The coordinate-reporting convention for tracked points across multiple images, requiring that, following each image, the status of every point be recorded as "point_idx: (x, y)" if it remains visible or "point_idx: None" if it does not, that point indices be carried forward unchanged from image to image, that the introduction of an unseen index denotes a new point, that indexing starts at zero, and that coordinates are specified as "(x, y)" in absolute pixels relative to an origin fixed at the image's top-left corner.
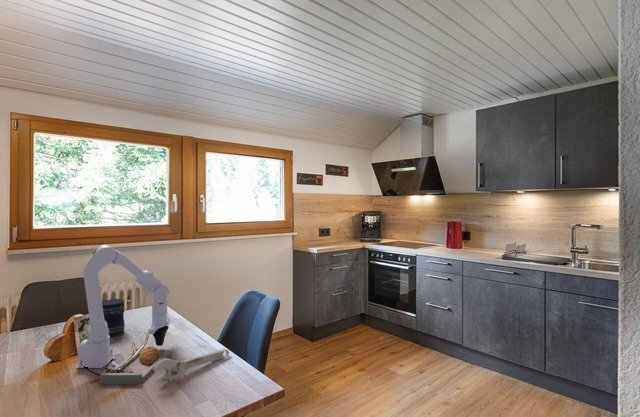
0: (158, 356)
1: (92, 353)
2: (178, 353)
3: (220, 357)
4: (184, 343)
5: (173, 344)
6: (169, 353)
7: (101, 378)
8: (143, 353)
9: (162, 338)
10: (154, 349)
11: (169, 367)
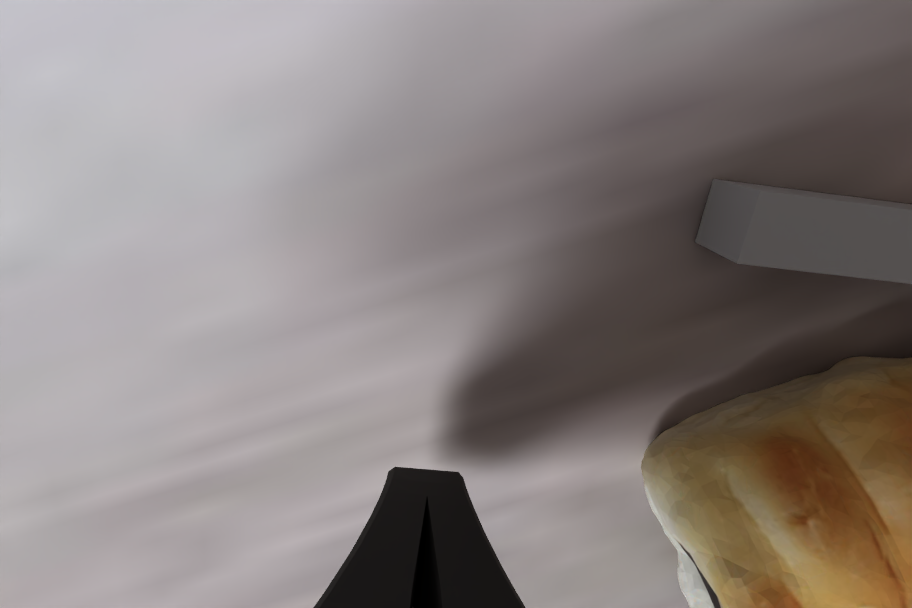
0: (859, 367)
1: None
2: (731, 3)
3: None
4: (129, 25)
5: (206, 281)
6: (805, 193)
7: None
8: None
9: (508, 595)
10: (876, 532)
11: None
